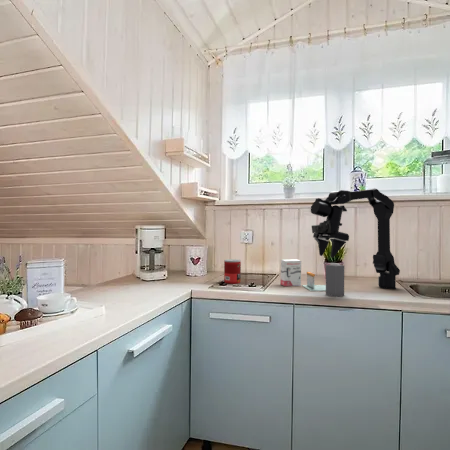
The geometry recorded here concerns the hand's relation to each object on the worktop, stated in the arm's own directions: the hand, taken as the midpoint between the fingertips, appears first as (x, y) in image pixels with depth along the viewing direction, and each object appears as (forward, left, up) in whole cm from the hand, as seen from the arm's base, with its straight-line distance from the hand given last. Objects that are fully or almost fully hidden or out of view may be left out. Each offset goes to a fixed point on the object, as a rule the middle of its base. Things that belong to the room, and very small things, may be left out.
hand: (326, 256), depth 146 cm
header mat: (+3, -10, -15) cm, 18 cm away
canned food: (+45, -11, -15) cm, 48 cm away
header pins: (+7, -8, -15) cm, 18 cm away
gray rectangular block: (-3, +4, -15) cm, 16 cm away
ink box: (+17, -13, -15) cm, 26 cm away
